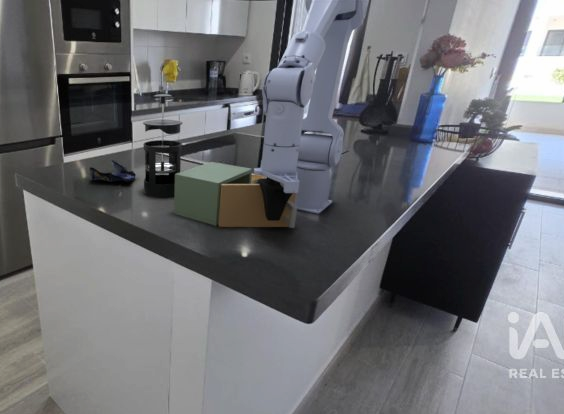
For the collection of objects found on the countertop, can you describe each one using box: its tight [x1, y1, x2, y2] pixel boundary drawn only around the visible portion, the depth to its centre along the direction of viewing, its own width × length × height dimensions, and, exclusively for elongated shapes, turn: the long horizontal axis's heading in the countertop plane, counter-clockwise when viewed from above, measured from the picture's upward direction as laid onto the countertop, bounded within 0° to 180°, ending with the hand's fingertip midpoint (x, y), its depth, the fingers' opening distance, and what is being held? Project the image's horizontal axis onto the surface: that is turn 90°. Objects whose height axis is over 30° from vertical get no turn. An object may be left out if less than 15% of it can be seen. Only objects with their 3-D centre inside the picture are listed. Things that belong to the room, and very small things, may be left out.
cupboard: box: [173, 161, 253, 227], centre depth 79 cm, size 10×14×9 cm
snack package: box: [88, 159, 137, 183], centre depth 102 cm, size 12×6×12 cm
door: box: [218, 184, 298, 229], centre depth 69 cm, size 4×14×8 cm, turn 89°
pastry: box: [251, 174, 267, 184], centre depth 95 cm, size 9×7×4 cm
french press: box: [142, 93, 183, 199], centre depth 89 cm, size 12×9×23 cm
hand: (272, 219), depth 68 cm, fingers closed
